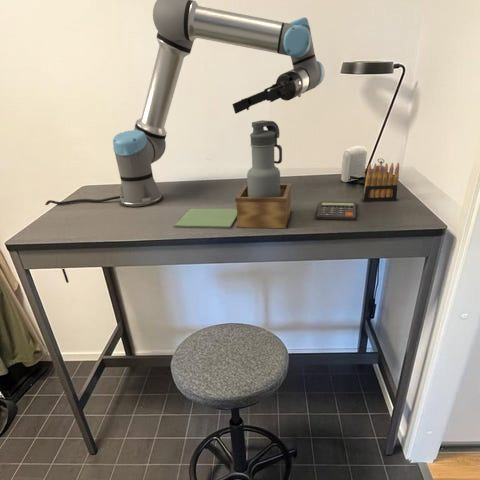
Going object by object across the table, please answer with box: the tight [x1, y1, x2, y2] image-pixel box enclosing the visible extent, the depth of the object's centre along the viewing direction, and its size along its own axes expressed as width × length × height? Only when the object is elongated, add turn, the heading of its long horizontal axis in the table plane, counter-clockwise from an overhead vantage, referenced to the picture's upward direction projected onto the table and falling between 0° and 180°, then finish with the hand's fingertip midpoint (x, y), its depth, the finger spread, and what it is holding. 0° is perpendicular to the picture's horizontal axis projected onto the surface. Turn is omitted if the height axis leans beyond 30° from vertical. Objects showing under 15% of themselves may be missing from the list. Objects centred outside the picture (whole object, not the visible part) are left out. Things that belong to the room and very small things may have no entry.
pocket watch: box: [371, 158, 389, 182], centre depth 145 cm, size 8×8×10 cm
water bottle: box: [246, 119, 283, 197], centre depth 117 cm, size 10×10×28 cm
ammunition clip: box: [362, 162, 400, 202], centre depth 131 cm, size 11×2×12 cm, turn 85°
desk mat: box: [174, 208, 237, 229], centre depth 129 cm, size 18×16×1 cm
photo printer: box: [340, 145, 368, 183], centre depth 153 cm, size 10×4×12 cm, turn 123°
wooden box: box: [234, 183, 292, 229], centre depth 122 cm, size 15×15×9 cm
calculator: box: [315, 200, 357, 221], centre depth 127 cm, size 12×1×15 cm
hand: (251, 102), depth 113 cm, fingers open, 13 cm apart
